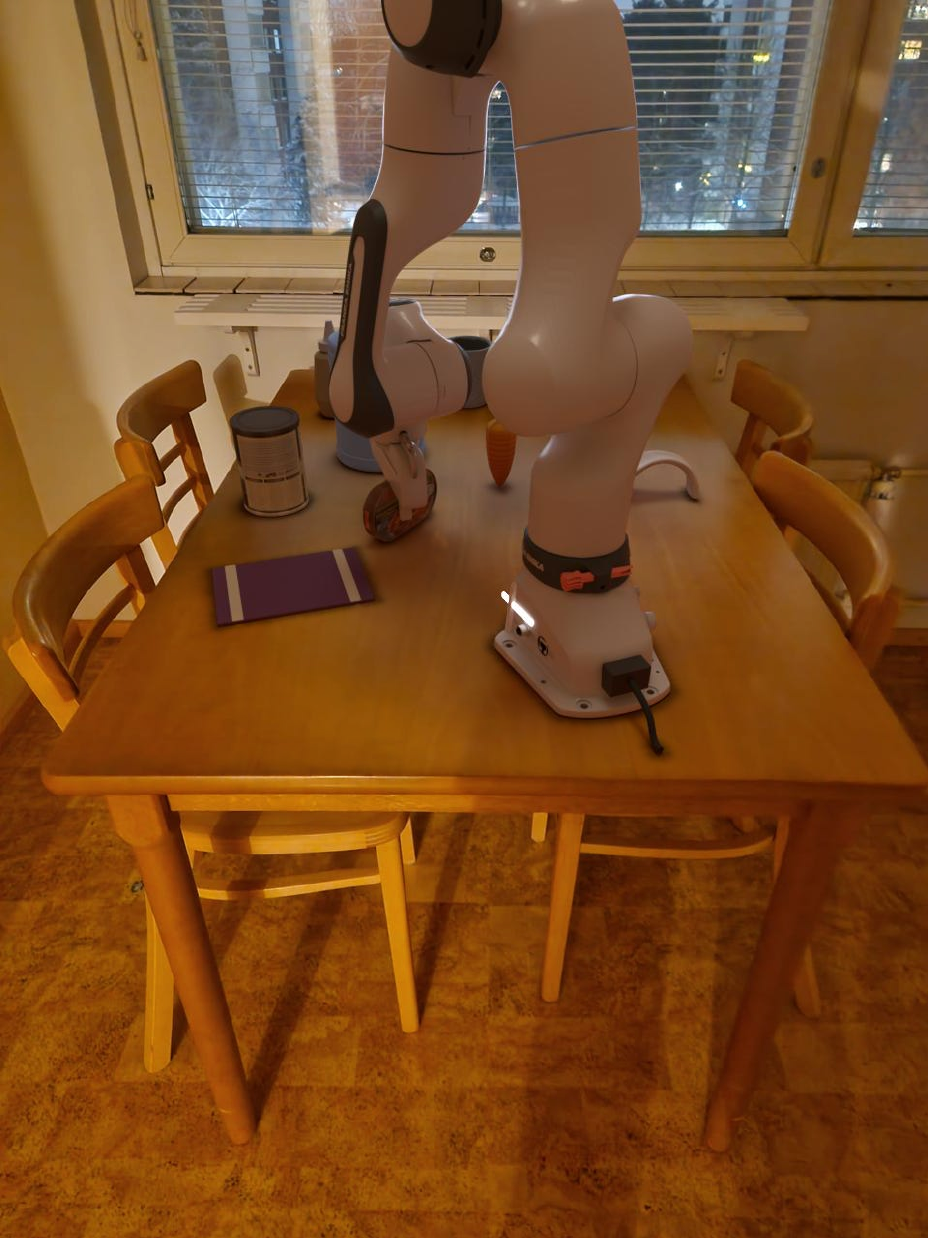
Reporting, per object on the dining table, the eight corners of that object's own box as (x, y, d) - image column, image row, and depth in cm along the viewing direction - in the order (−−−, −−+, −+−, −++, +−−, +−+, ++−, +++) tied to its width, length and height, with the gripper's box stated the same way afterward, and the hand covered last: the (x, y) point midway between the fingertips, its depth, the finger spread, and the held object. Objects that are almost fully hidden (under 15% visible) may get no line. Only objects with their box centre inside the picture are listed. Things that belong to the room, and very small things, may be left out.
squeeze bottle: (365, 411, 162) (359, 318, 152) (339, 423, 157) (331, 328, 146) (334, 403, 166) (325, 312, 156) (307, 415, 160) (297, 322, 150)
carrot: (512, 494, 132) (515, 405, 123) (482, 491, 132) (483, 402, 124) (516, 481, 136) (520, 394, 127) (487, 478, 136) (489, 391, 128)
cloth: (374, 600, 106) (374, 597, 106) (218, 626, 101) (217, 623, 101) (354, 549, 117) (354, 546, 117) (212, 570, 112) (211, 567, 112)
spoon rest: (555, 513, 126) (558, 471, 122) (545, 481, 136) (547, 440, 132) (704, 510, 127) (712, 468, 123) (684, 478, 137) (691, 438, 133)
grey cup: (461, 389, 173) (462, 332, 166) (501, 399, 168) (503, 340, 161) (433, 403, 166) (431, 343, 159) (473, 413, 161) (473, 353, 154)
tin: (376, 550, 117) (374, 498, 112) (360, 544, 118) (357, 492, 113) (438, 511, 127) (439, 461, 122) (422, 505, 128) (422, 456, 123)
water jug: (371, 482, 135) (359, 308, 119) (320, 454, 145) (302, 289, 129) (443, 457, 144) (440, 291, 128) (390, 432, 153) (381, 275, 137)
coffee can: (231, 502, 129) (215, 417, 121) (285, 482, 135) (274, 400, 127) (267, 523, 123) (253, 436, 115) (322, 502, 129) (313, 417, 121)
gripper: (438, 445, 105) (439, 538, 113) (400, 393, 121) (404, 478, 129) (390, 451, 104) (395, 545, 112) (359, 398, 120) (365, 483, 128)
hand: (400, 509), depth 120 cm, fingers closed on tin, 4 cm apart
